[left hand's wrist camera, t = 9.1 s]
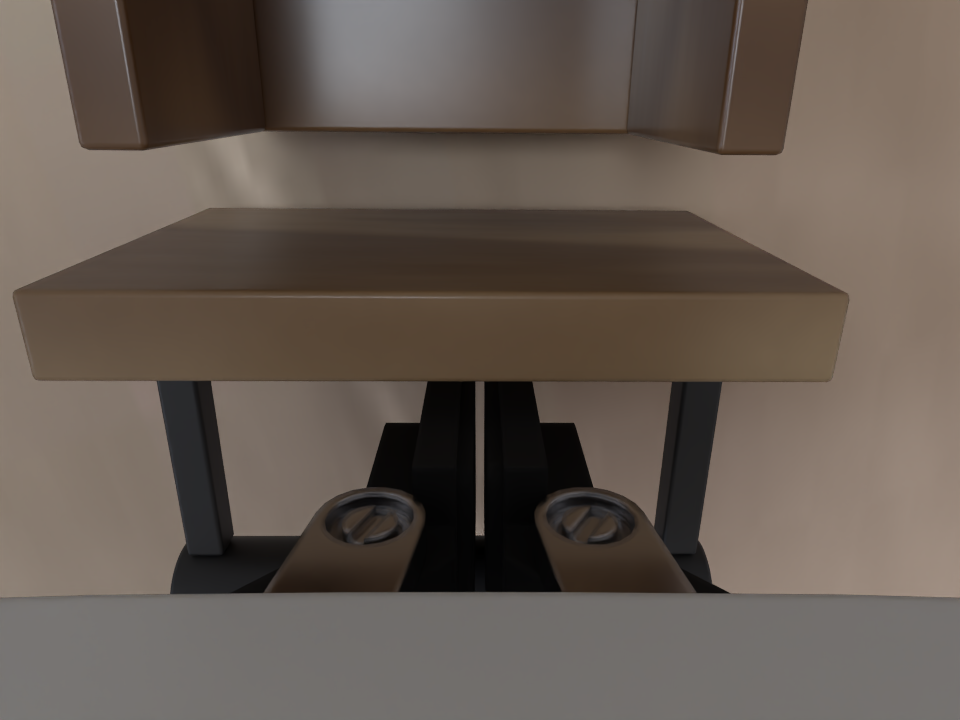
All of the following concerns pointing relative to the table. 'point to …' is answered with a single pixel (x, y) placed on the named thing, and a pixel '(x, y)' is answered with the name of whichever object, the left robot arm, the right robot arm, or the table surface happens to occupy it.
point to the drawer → (429, 224)
